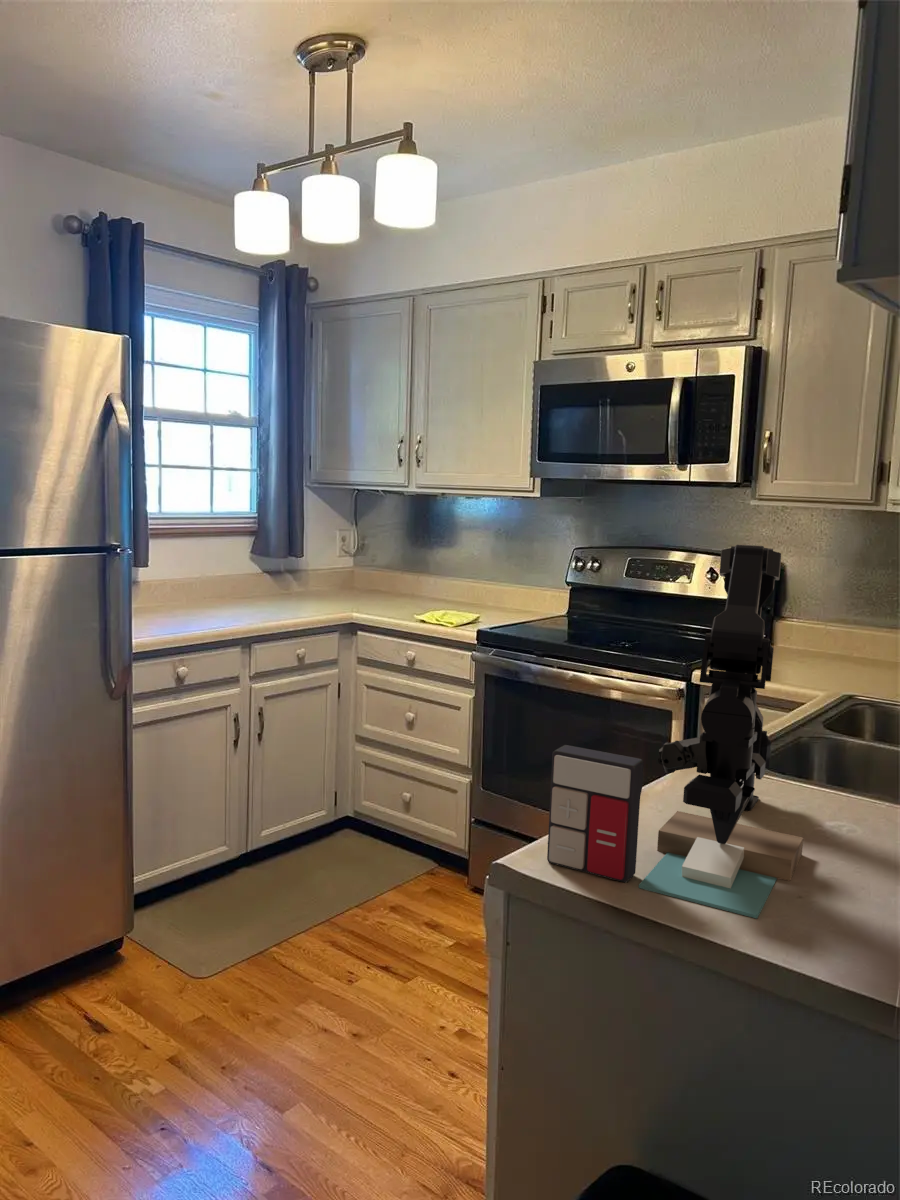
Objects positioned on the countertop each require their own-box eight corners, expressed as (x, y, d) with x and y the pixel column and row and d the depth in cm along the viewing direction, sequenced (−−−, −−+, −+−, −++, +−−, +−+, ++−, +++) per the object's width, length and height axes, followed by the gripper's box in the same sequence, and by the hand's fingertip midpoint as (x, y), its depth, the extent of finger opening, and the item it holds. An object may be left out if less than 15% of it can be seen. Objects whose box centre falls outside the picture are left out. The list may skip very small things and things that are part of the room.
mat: (667, 855, 119) (667, 852, 119) (776, 881, 112) (776, 878, 112) (638, 887, 109) (638, 884, 109) (757, 918, 102) (757, 915, 102)
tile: (697, 846, 117) (697, 836, 117) (743, 857, 114) (744, 847, 114) (681, 876, 112) (681, 866, 111) (730, 888, 109) (730, 878, 108)
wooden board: (676, 831, 128) (677, 810, 128) (801, 858, 119) (803, 837, 119) (657, 851, 120) (658, 830, 120) (789, 883, 112) (791, 860, 111)
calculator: (544, 864, 115) (549, 751, 113) (557, 853, 118) (563, 743, 117) (625, 886, 109) (633, 767, 107) (637, 873, 113) (644, 759, 111)
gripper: (687, 701, 125) (680, 808, 127) (645, 729, 109) (638, 851, 111) (770, 714, 119) (761, 825, 121) (739, 745, 103) (729, 873, 105)
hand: (721, 842), depth 115 cm, fingers closed
